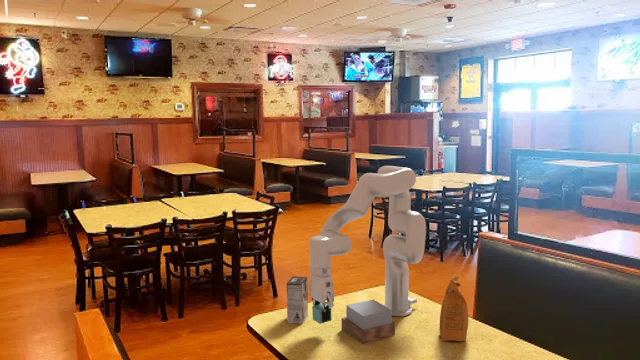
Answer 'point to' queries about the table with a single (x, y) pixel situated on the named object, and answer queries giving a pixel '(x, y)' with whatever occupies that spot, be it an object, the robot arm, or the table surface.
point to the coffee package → (453, 313)
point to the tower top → (368, 314)
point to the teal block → (319, 313)
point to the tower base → (367, 331)
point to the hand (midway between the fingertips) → (322, 317)
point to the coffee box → (297, 300)
